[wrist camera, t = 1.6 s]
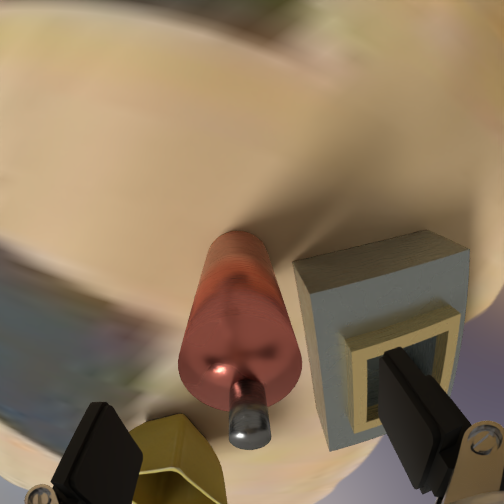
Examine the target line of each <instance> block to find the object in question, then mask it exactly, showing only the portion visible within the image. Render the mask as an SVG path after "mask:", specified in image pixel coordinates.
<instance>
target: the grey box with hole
mask: <svg viewBox="0 0 504 504" xmlns="http://www.w3.org/2000/svg"><path fill="white" fill-rule="evenodd" d="M469 256H470V249H468V248H466V247H464V246H462V245H459V244H457V243H455V242H453V241H451V240H448V239H446V238H444V237H442V236H440V235H437V234H435V233H433V232H430V231H428V230H424V231H420V232H416V233H412V234H408V235H403V236H399V237H395V238H391V239H387V240H383V241H379V242H375V243H371V244H366V245H362V246H358V247H354V248H350V249H345V250H341V251H337V252H333V253H328V254H324V255H320V256H316V257H311V258H307V259H303V260H298V261H294V262H293V268H294V273H295V279H296V284H297V290H298V296H299V301H300V307H301V313H302V319H303V325H304V331H305V337H306V343H307V349H308V356H309V362H310V369H311V375H312V382H313V389H314V396H315V403H316V409H317V412H318V415H319V419H320V422H321V425H322V428H323V432H324V435H325V438H326V441H327V445H328V448H329V451H334V450H338V449H341V448H345V447H348V446H351V445H355V444H358V443H361V442H364V441H367V440H370V439H373V438H376V437H379V436H382V435H385V434H387V433H386V431H385V429H384V427H383V425H382V423H381V421H380V419H379V415H378V396H379V358H380V357H383V354H384V352H385V351H388V350H391V349H394V348H397V347H402V348H403V350H404V351H405V352H406V353H407V354H408V356H409V357H410V358H411V359H412V360H413V362H414V363H415V364H416V365H417V367H418V368H419V369H420V370H421V372H422V373H423V374H424V375H425V376H426V375H431V376H432V377H433V378H434V379H435V380H436V381H437V382H438V383H439V385H440V386H441V387H442V388H443V390H444V391H445V392H446V393H447V394H448V396H449V397H450V396H451V391H452V387H453V383H454V379H455V374H456V369H457V364H458V359H459V354H460V348H461V342H462V335H463V328H464V321H465V313H466V303H467V292H468V278H469Z"/></svg>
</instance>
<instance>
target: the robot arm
mask: <svg viewBox="0 0 504 504" xmlns="http://www.w3.org/2000/svg"><path fill="white" fill-rule="evenodd" d="M378 415H379V419H380V421H381V423H382V425H383V427H384V429H385V431H386V433H387V435H388V436H389V439H390V441H391V443H392V445H393V447H394V449H395V451H396V453H397V455H398V457H399V459H400V461H401V463H402V465H403V467H404V469H405V471H406V473H407V475H408V477H409V479H410V481H411V483H412V485H413V487H414V488H415V489H419V488H420V490H421V492H422V494H425V493H427V492H429V491H431V490H432V492H433V494H434V496H436V497H437V499H436V501H435V504H504V428H503V427H502V426H501V425H500V424H498V423H496V422H492V421H481V422H478V423H475V424H473V425H471V424H470V422H469V421H468V420H467V418H466V417H465V416H464V415H463V413H462V412H461V411H460V410H459V408H458V407H457V406H456V404H455V403H454V402H453V401H452V399H451V398H450V397H449V396H448V394H447V393H446V392H445V391H444V390H443V388H442V387H441V386H440V385H439V383H438V382H437V381H436V380H435V379H434V378H433V377H432V376H431V375H426V376H425V375H424V374H423V373H422V372H421V370H420V369H419V368H418V367H417V365H416V364H415V363H414V362H413V360H412V359H411V358H410V357H409V356H408V354H407V353H406V352H405V351H404V350H403V348H402V347H397V348H394V349H391V350H388V351H385V352H384V354H383V357H380V358H379V396H378ZM142 462H143V453H142V451H141V449H140V448H139V447H138V445H137V444H136V442H135V441H134V439H133V438H132V436H131V435H130V433H129V432H128V430H127V429H126V427H125V426H124V424H123V423H122V421H121V419H120V418H119V416H118V415H117V413H116V411H115V410H114V408H113V407H112V406H110V405H109V404H108V403H107V402H92V403H91V404H90V405H89V407H88V409H87V410H86V412H85V414H84V416H83V418H82V420H81V422H80V424H79V426H78V427H77V429H76V431H75V433H74V435H73V437H72V439H71V441H70V443H69V445H68V447H67V449H66V451H65V453H64V455H63V457H62V459H61V461H60V463H59V465H58V467H57V469H56V471H55V473H54V475H53V478H52V480H51V483H52V484H53V485H54V486H53V488H51V487H50V486H48V485H45V484H40V485H36V486H34V487H32V488H31V489H30V490H29V491H28V492H27V494H26V496H25V500H24V502H25V504H132V500H133V496H134V492H135V488H136V484H137V480H138V477H139V473H140V469H141V465H142Z"/></svg>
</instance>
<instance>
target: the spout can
mask: <svg viewBox="0 0 504 504" xmlns="http://www.w3.org/2000/svg"><path fill="white" fill-rule="evenodd" d="M178 370H179V374H180V377H181V380H182V382H183V384H184V385H185V387H186V388H187V390H188V391H189V392H190V393H191V394H192V395H193V396H194V397H196V398H197V399H198V400H200V401H201V402H203V403H204V404H206V405H208V406H210V407H213V408H216V409H219V410H223V411H229V441H230V443H231V444H232V445H233V446H235V447H237V448H240V449H244V450H254V449H258V448H261V447H264V446H265V445H267V444H268V443H269V442H270V440H271V431H270V423H269V416H268V408H267V407H269V406H271V405H273V404H275V403H277V402H279V401H280V400H282V399H283V398H284V397H285V396H287V395H288V394H289V393H290V392H291V390H292V389H293V388H294V387H295V385H296V383H297V382H298V379H299V377H300V374H301V370H302V357H301V353H300V350H299V347H298V344H297V341H296V338H295V334H294V331H293V328H292V325H291V322H290V319H289V316H288V313H287V310H286V307H285V304H284V301H283V298H282V295H281V292H280V289H279V286H278V283H277V280H276V277H275V274H274V271H273V268H272V265H271V262H270V259H269V256H268V253H267V250H266V248H265V246H264V244H263V243H262V242H261V241H260V240H259V239H258V238H257V237H256V236H254V235H252V234H250V233H248V232H244V231H231V232H228V233H225V234H223V235H221V236H219V237H218V238H217V239H216V240H215V241H214V242H213V243H212V245H211V246H210V248H209V251H208V254H207V257H206V260H205V264H204V267H203V271H202V274H201V277H200V281H199V284H198V288H197V291H196V295H195V298H194V302H193V305H192V309H191V313H190V316H189V320H188V323H187V327H186V331H185V335H184V338H183V342H182V346H181V350H180V353H179V359H178Z"/></svg>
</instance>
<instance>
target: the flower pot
mask: <svg viewBox="0 0 504 504" xmlns="http://www.w3.org/2000/svg"><path fill="white" fill-rule="evenodd" d="M129 433H130V435H131V436H132V438H133V439H134V441H135V442H136V444H137V445H138V447H139V448H140V449H141V451H142V453H143V462H142V465H141V469H140V473H139V477H138V480H137V484H136V488H135V492H134V496H133V500H132V503H133V504H227V497H226V490H225V483H224V477H223V471H222V468H221V465H220V462H219V460H218V458H217V456H216V454H215V452H214V450H213V449H212V447H211V446H210V444H209V443H208V441H207V440H206V439H205V438H204V436H203V435H202V434H201V433H200V432H199V431H198V430H197V429H196V428H195V426H194V425H193V424H192V423H191V422H190V421H189V419H188V418H187V417H186V416H185V415H184V414H176V415H172V416H168V417H165V418H161V419H156V420H152V421H148V422H145V423H143V424H141V425H139V426H137V427H136V428H134V429H133V430H131V431H130V432H129Z"/></svg>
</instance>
